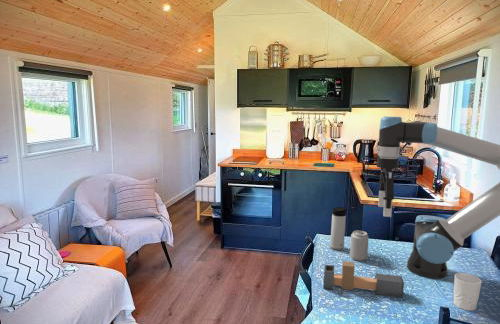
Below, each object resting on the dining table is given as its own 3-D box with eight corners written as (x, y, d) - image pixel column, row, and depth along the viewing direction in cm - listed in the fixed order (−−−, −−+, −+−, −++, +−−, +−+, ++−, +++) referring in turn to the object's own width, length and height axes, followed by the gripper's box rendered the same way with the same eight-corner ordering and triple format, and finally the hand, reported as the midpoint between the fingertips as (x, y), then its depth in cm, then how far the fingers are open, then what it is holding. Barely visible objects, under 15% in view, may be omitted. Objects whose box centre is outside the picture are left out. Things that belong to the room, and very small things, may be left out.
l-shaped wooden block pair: (376, 287, 133) (378, 264, 131) (378, 293, 129) (380, 269, 128) (326, 281, 137) (327, 259, 135) (326, 286, 133) (327, 263, 132)
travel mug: (344, 251, 167) (347, 210, 164) (330, 250, 168) (332, 209, 165) (344, 246, 173) (346, 206, 170) (330, 245, 174) (332, 205, 171)
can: (369, 257, 161) (370, 231, 159) (364, 263, 155) (366, 236, 153) (352, 253, 165) (354, 228, 163) (347, 259, 159) (349, 233, 157)
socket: (333, 282, 137) (334, 265, 136) (333, 289, 132) (334, 272, 130) (323, 281, 138) (324, 264, 137) (323, 288, 132) (324, 271, 131)
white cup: (478, 314, 118) (481, 286, 116) (450, 307, 122) (453, 279, 120) (478, 303, 124) (481, 276, 123) (452, 296, 128) (455, 270, 127)
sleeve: (400, 291, 132) (401, 276, 131) (402, 298, 127) (404, 282, 126) (374, 287, 134) (375, 273, 133) (375, 294, 129) (377, 279, 128)
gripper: (373, 153, 149) (370, 202, 153) (382, 161, 125) (378, 220, 128) (392, 153, 148) (389, 203, 151) (405, 162, 124) (400, 221, 127)
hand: (384, 211), depth 140 cm, fingers open, 13 cm apart
